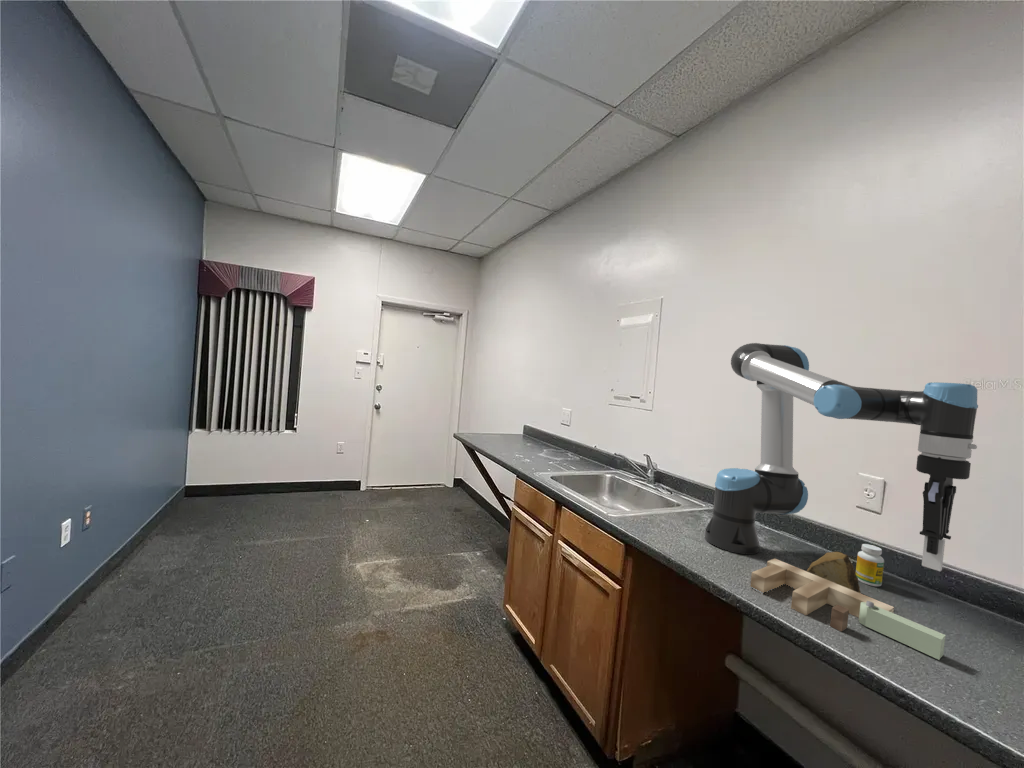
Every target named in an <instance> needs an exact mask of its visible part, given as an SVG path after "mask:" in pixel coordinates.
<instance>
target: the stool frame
mask: <svg viewBox="0 0 1024 768" xmlns="http://www.w3.org/2000/svg"><path fill="white" fill-rule="evenodd" d="M783 584H784V585H785V584H786V586H787V585H788V586H787V587H789V586H790V588H792V587H793V588H792V589H794V590H792V595H791V604H790V609H792V610H794V609H795V610H794V611H795V612H798V613H800V614H802V615H804V616H808V615H810V614H811V613H813V612H815V611H817V610H818V609H820V608H822V607H824V606H825V605H826V604H827V605H830V606H832V607H831V612H830V613H831V614H830V620H829V621H830V623H829V627H831V628H833V629H835V630H837V631H839V632H844V630H846V629H847V628H848V624H849V623H848V622H849V614H850V615H852V616H853V617H856V618H858V619H859V614H860V605H861V602H867V601H870V602H873V603H874V605H875V606H877V607H880V608H882V609H884V610H887V611H889V612H892V613H894V612H895V607H894V606H892V605H889V604H888V603H885V602H883V601H879V600H877V599H875V598H873V597H870V596H868V595H865V594H862V593H858V592H856V591H853V590H851V589H848V588H846V587H844V586H841V585H839V584H836V583H834V582H831V581H829V580H826V579H824V578H821V577H819V576H817V575H814V574H812V573H809V572H807V570H804V569H802V568H799V567H797V566H794V565H792V564H790V563H787V562H784V561H783V560H779V559H777V558H775V557H774V558H772V559H769V560H767V562H766V566H764V567H762V568H759V569H756V570H754V571H751V577H750V585H749V586H751V587H753V588H755V589H757V590H759V591H761V592H763V593H764V592H767V591H769V590H771V589H774V588H776V589H777V587H778V588H780V587H782V586H784V585H783ZM781 585H782V586H781ZM779 586H780V587H779ZM774 590H775V589H774ZM771 591H772V590H771ZM769 592H770V591H769ZM767 593H768V592H767Z"/></svg>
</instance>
